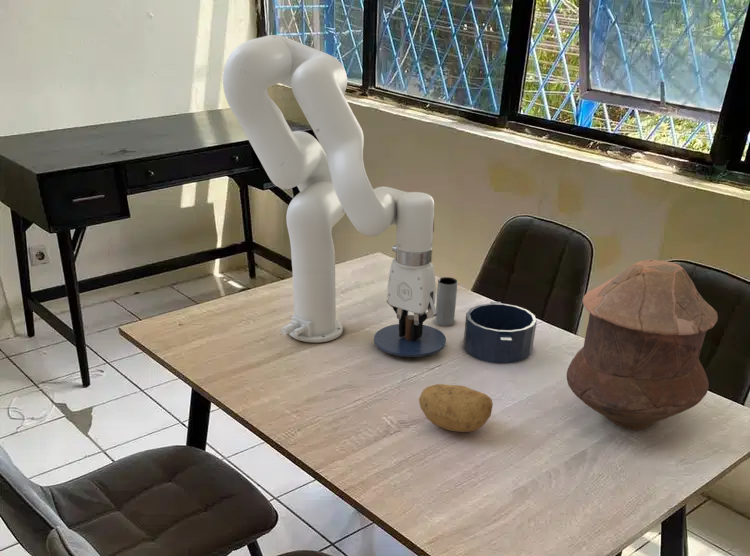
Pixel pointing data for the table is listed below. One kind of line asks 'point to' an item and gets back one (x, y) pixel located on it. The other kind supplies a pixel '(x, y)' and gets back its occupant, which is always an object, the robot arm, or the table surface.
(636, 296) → the pottery vessel
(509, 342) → the pot
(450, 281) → the grey tube
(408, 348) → the lid
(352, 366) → the table surface
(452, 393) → the potato
